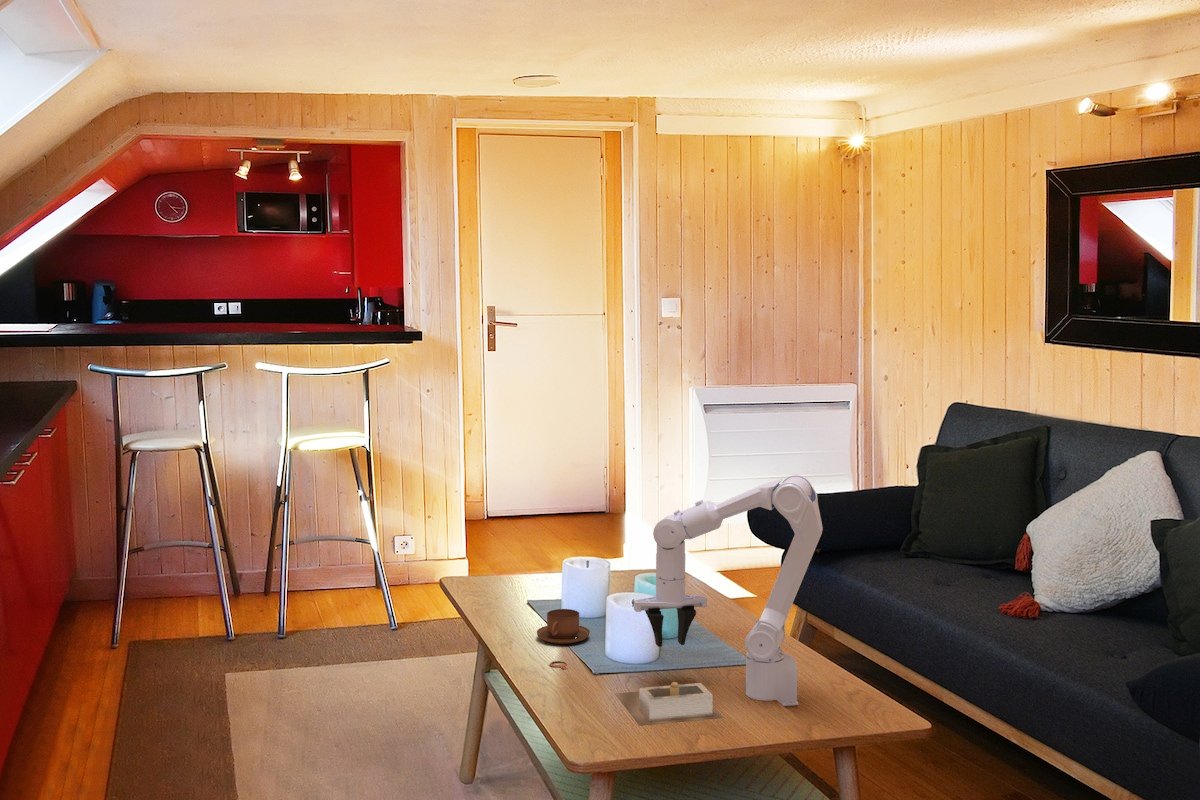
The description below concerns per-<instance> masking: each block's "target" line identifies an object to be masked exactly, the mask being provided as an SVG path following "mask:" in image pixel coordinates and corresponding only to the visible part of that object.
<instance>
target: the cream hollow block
mask: <svg viewBox="0 0 1200 800" xmlns="http://www.w3.org/2000/svg"><path fill="white" fill-rule="evenodd" d="M678 685H679V695H676V696H670V685H660V686H649V687H646V686H645V687H639V690H638V691H639V709H640V710H641V712H642V713H643V714H644V715H645V717H646V718H647V719H648V720H649V722H652V721H663V720H674V719H685V718H696V717H707V716H712V708H713V707H714V706H713V703H714V702H713V700H714V699H713V695H714V694H713V693H711V692H710V690H709V689H707V687H706V686H705V685H704V684H703V683H702V682H697V683H696V682H695V683H685V684H684V683H683V684H678Z"/></svg>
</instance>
